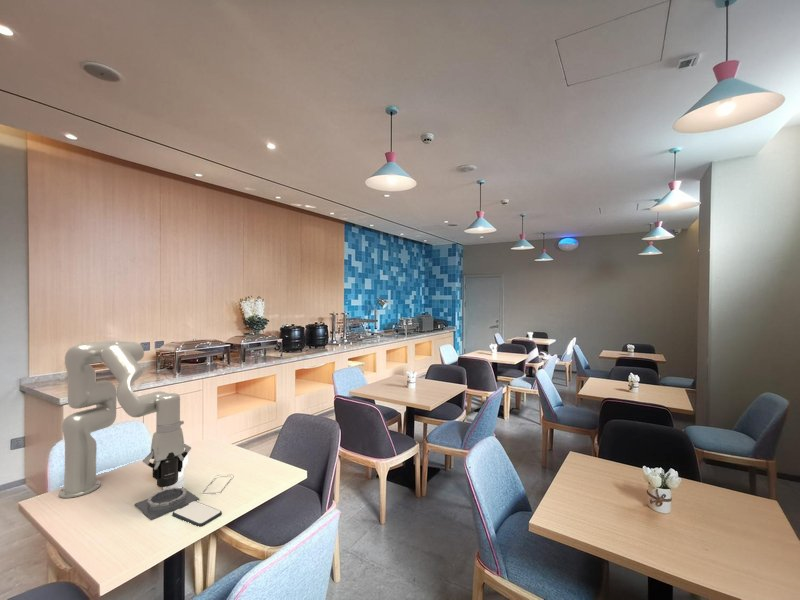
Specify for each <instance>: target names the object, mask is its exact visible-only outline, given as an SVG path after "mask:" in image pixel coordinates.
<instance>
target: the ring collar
mask: <svg viewBox="0 0 800 600" xmlns="http://www.w3.org/2000/svg"><path fill="white" fill-rule="evenodd" d="M197 500H199V501H200V497H198V496H196V495H195V494H194V493H192V492H190V491H189V490H188V489H186V488H184V487H183V486H182V488H178V487H171V488H165V489H162V490H159V491H157V492H155V493H154V494H152V495H150V496H149V497H148V498H146V499H143V500H141V501H138V502H136V503H134V507H135V508H136V509H138V510H139V511H140V512H141V513H142V514H143V515H144V516H145V517H146V518H147V519H149V521H153V520H155V519H159V518H160V517H162V516H165V515H168V514H170V513H173V511H175V510H177V509H179V508H181V507H183V506H184V505H186V504H188V503H190V502H192V501H197ZM197 502H198V501H197Z"/></svg>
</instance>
